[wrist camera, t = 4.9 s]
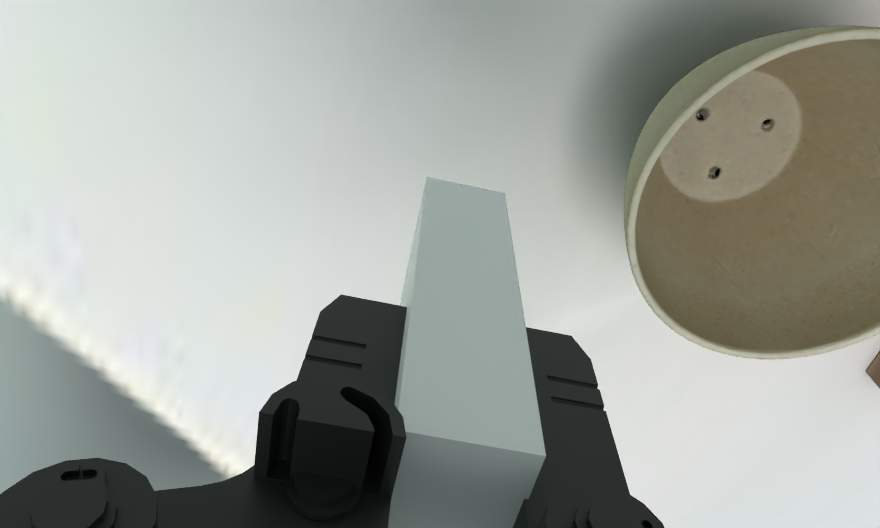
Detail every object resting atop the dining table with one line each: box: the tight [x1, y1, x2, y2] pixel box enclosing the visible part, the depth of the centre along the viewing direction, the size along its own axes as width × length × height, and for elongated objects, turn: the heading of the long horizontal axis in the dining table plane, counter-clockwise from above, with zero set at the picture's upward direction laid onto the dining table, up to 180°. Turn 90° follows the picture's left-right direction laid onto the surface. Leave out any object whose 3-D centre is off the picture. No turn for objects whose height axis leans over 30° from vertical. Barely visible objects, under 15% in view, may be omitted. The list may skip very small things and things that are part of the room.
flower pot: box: [624, 26, 880, 359], centre depth 21 cm, size 10×10×7 cm
